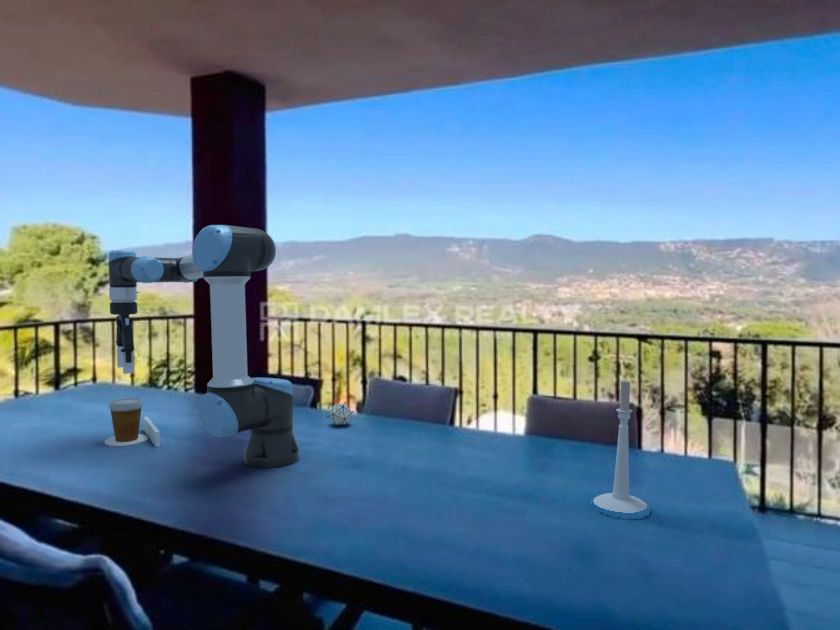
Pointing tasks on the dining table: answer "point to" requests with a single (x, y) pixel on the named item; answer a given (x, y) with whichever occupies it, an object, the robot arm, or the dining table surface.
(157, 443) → the wall
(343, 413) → the game die
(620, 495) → the candlestick
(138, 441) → the coaster
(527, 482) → the dining table surface
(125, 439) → the disposable coffee cup
